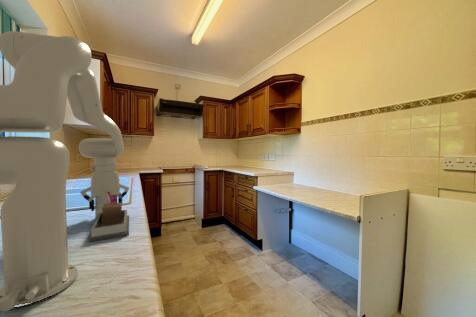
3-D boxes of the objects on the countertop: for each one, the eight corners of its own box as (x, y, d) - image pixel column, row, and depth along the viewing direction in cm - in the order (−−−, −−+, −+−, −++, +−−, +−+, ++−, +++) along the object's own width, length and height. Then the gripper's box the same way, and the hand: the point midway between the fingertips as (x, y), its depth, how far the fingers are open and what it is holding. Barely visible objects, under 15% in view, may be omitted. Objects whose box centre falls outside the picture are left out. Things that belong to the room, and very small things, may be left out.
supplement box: (107, 219, 83) (106, 192, 82) (94, 218, 84) (94, 191, 83) (118, 215, 88) (117, 189, 88) (106, 214, 89) (105, 188, 89)
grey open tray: (128, 235, 68) (128, 213, 68) (88, 242, 63) (88, 218, 62) (129, 218, 84) (128, 201, 83) (97, 223, 79) (96, 204, 78)
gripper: (77, 170, 78) (79, 214, 79) (128, 168, 86) (129, 208, 87) (81, 169, 84) (83, 209, 85) (128, 167, 92) (129, 203, 93)
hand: (106, 208), depth 86 cm, fingers open, 9 cm apart
